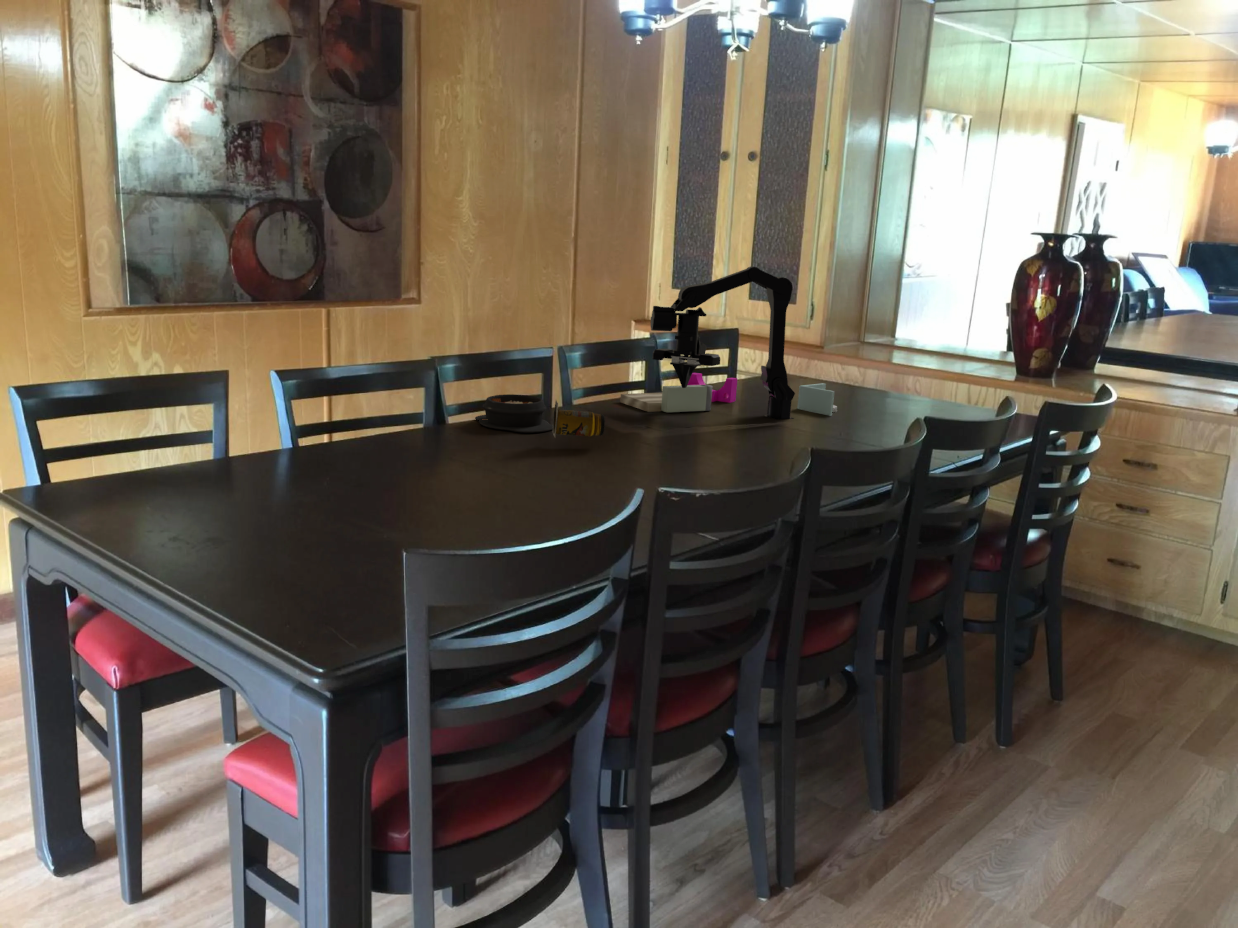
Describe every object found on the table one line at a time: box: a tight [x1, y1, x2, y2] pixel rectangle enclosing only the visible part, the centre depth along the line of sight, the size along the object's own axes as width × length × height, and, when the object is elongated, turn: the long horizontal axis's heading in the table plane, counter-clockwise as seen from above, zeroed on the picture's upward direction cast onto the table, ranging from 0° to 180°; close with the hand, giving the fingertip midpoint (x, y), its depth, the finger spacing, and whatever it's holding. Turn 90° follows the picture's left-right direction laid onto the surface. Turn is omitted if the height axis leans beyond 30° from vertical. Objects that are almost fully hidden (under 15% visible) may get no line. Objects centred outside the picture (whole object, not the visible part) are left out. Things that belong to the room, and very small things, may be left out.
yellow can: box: [552, 400, 606, 438], centre depth 235 cm, size 7×8×12 cm
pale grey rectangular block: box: [660, 384, 713, 413], centre depth 278 cm, size 16×3×7 cm, turn 120°
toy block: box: [688, 372, 738, 404], centre depth 301 cm, size 15×6×8 cm, turn 58°
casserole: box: [474, 393, 553, 434], centre depth 258 cm, size 25×19×8 cm
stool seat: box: [619, 392, 662, 413], centre depth 286 cm, size 16×20×2 cm
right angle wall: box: [796, 382, 838, 417], centre depth 292 cm, size 12×12×8 cm
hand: (684, 387), depth 273 cm, fingers closed
